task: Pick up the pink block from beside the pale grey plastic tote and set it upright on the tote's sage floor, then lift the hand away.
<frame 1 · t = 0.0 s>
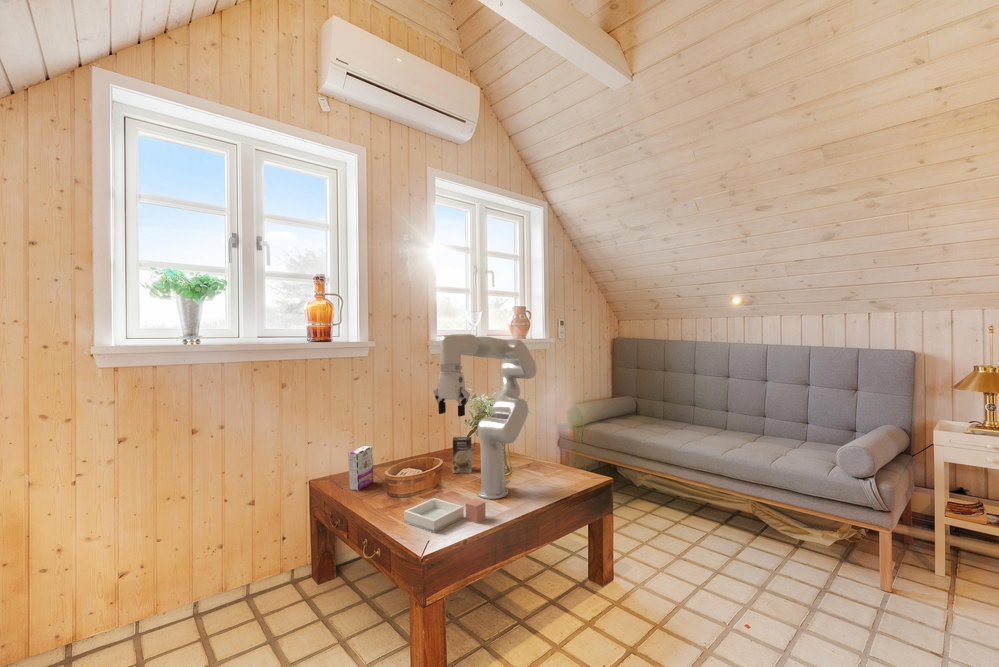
hand: (451, 414, 166), 37 cm above the table, tool pointing down, fingers open, 9 cm apart
pink block: (475, 519, 161), on the table
coffee box: (462, 472, 215), on the table
candy bar box: (361, 486, 198), on the table
tote: (434, 519, 161), on the table
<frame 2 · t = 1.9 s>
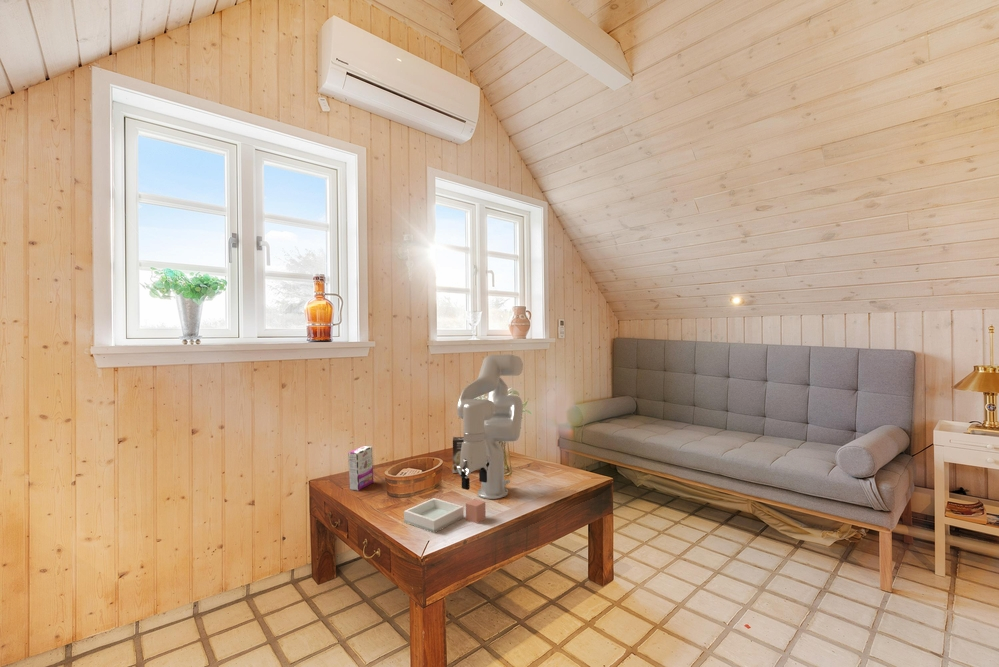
hand: (474, 485, 160), 12 cm above the table, tool pointing down, fingers open, 9 cm apart
nothing on the table moved.
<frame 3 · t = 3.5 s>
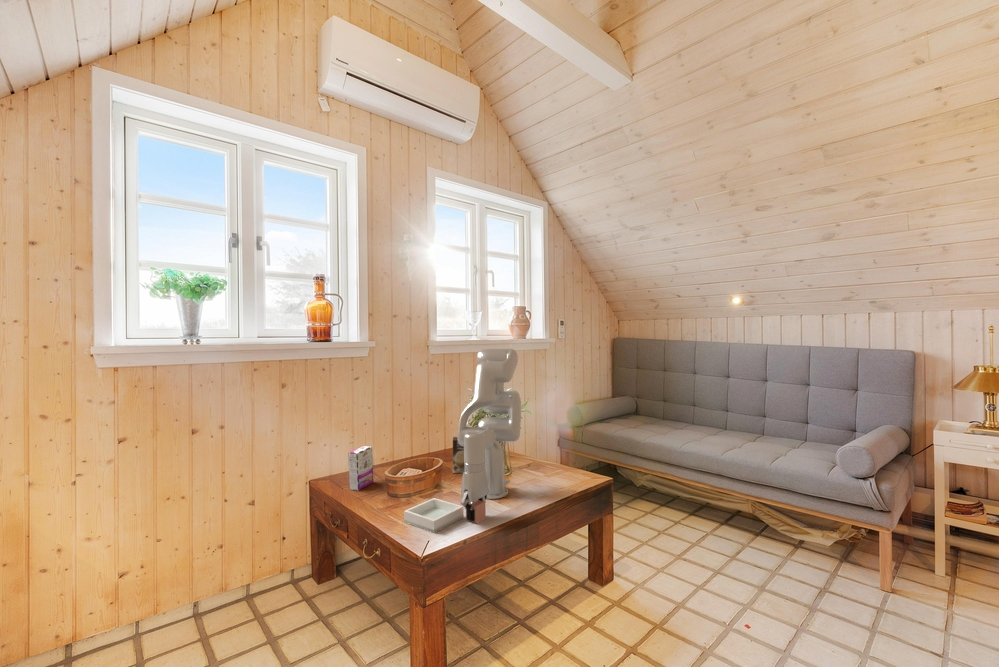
hand: (475, 516, 161), 1 cm above the table, tool pointing down, fingers closed on pink block, 5 cm apart
pink block: (475, 519, 161), on the table, touching gripper
everything else where it was.
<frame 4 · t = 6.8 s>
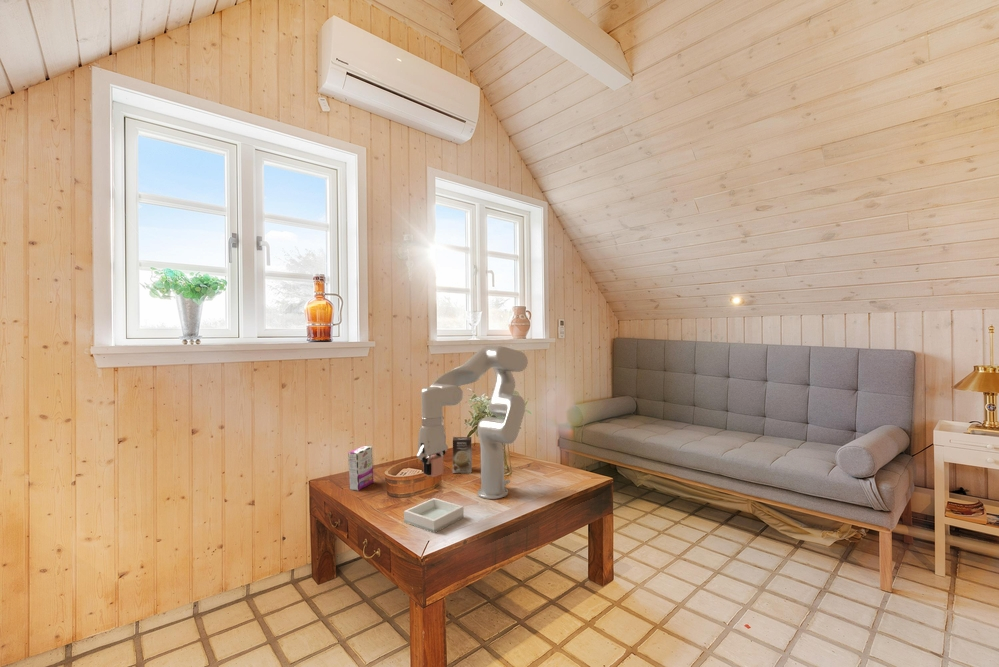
hand: (433, 471, 161), 17 cm above the table, tool pointing down, fingers closed on pink block, 5 cm apart
pink block: (433, 474, 161), point 17 cm above the table, touching gripper
everything else where it was.
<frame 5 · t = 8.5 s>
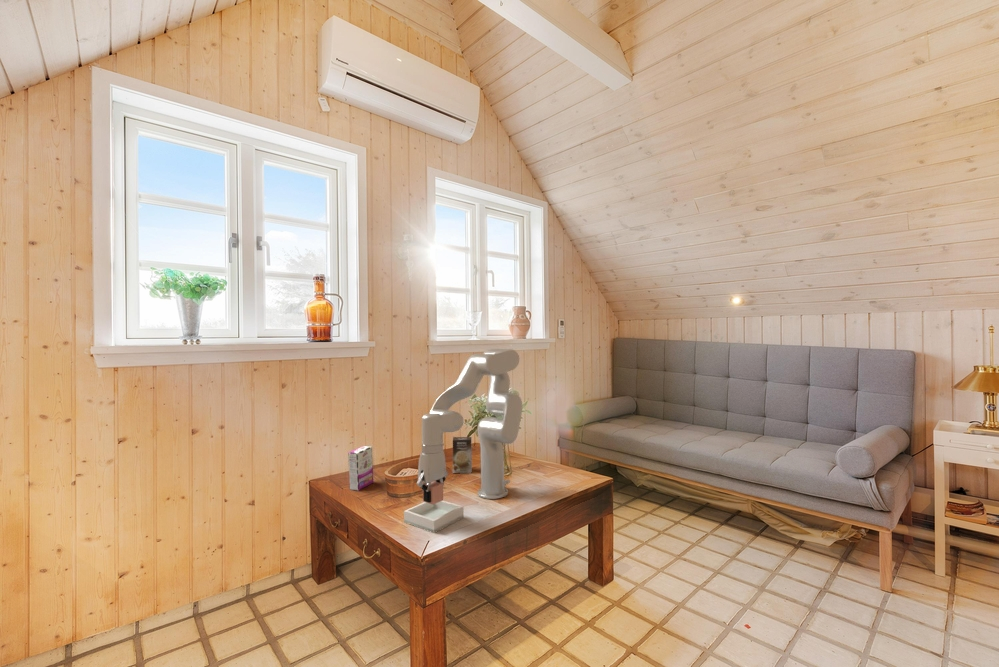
hand: (433, 498, 161), 8 cm above the table, tool pointing down, fingers closed on pink block, 5 cm apart
pink block: (433, 500, 160), point 7 cm above the table, touching gripper
everything else where it was.
when the fingers open (3 cm above the table, at t = 9.9 s): pink block drops 1 cm, resting on tote.
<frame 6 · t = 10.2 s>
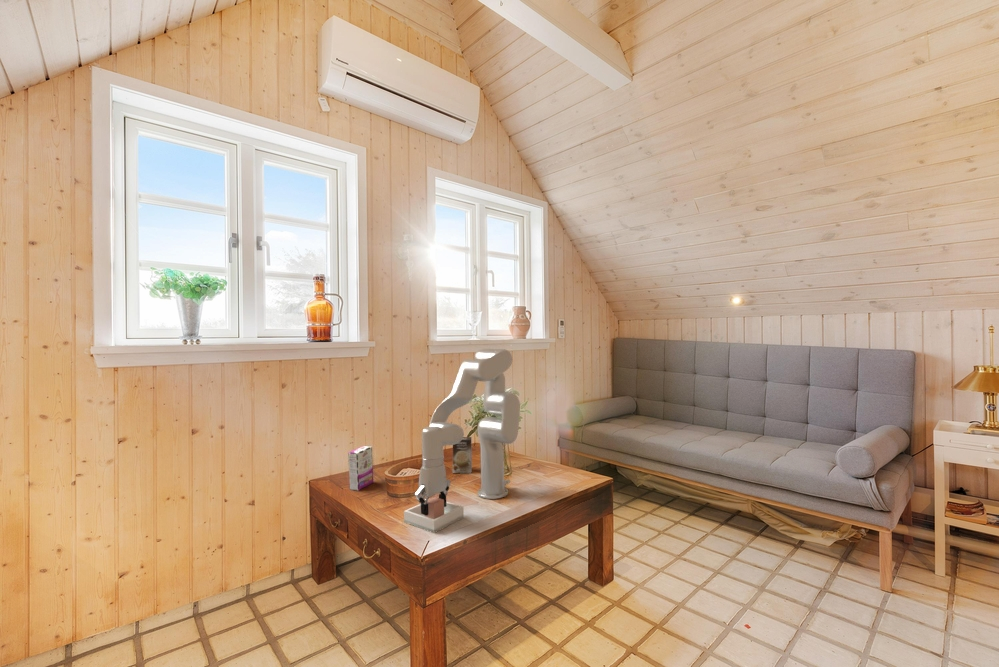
hand: (433, 509, 161), 4 cm above the table, tool pointing down, fingers open, 8 cm apart
pink block: (434, 517, 161), point 1 cm above the table, touching tote
everything else where it was.
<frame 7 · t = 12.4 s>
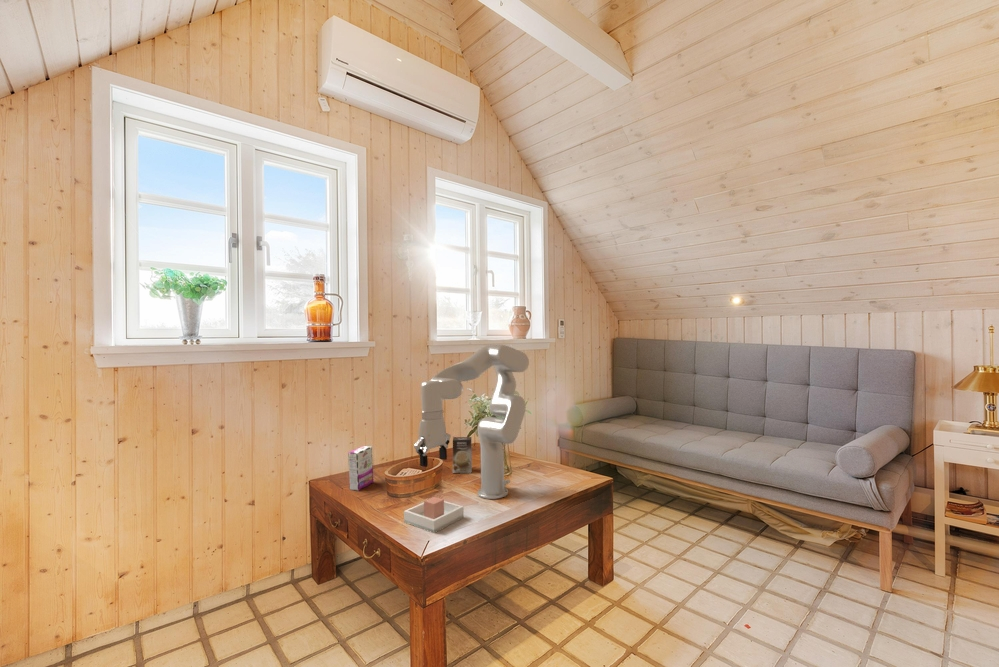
hand: (433, 462, 161), 20 cm above the table, tool pointing down, fingers open, 9 cm apart
nothing on the table moved.
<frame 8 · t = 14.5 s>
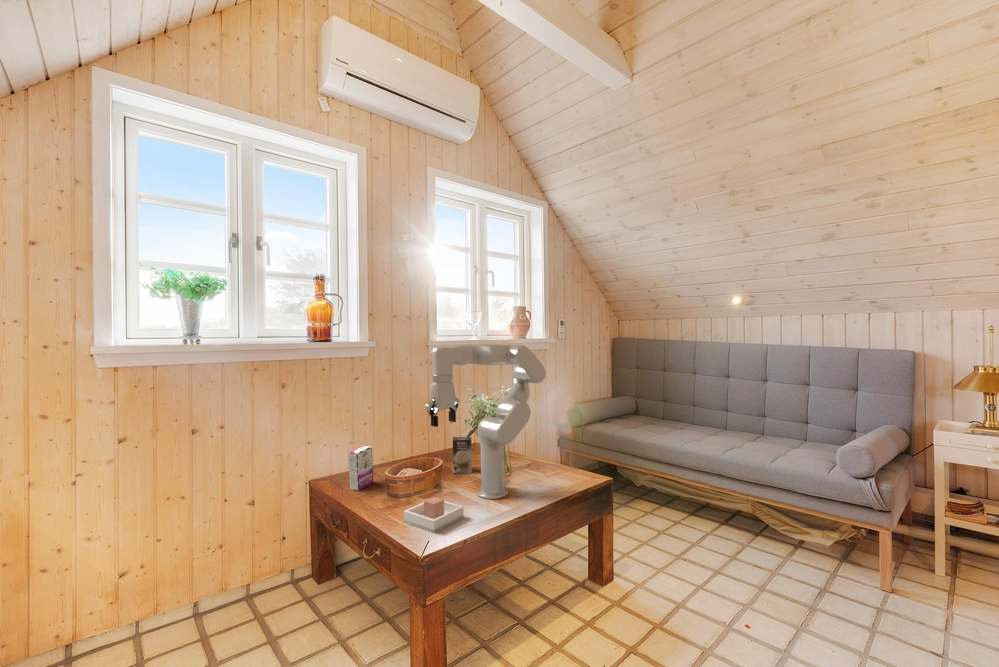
hand: (443, 423, 171), 32 cm above the table, tool pointing down, fingers open, 9 cm apart
nothing on the table moved.
at the end: pink block inside the target area on the tote (0.1 cm from its centre), point 1.0 cm above the tote's base; pink block tilted 0°; the gripper is holding nothing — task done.
